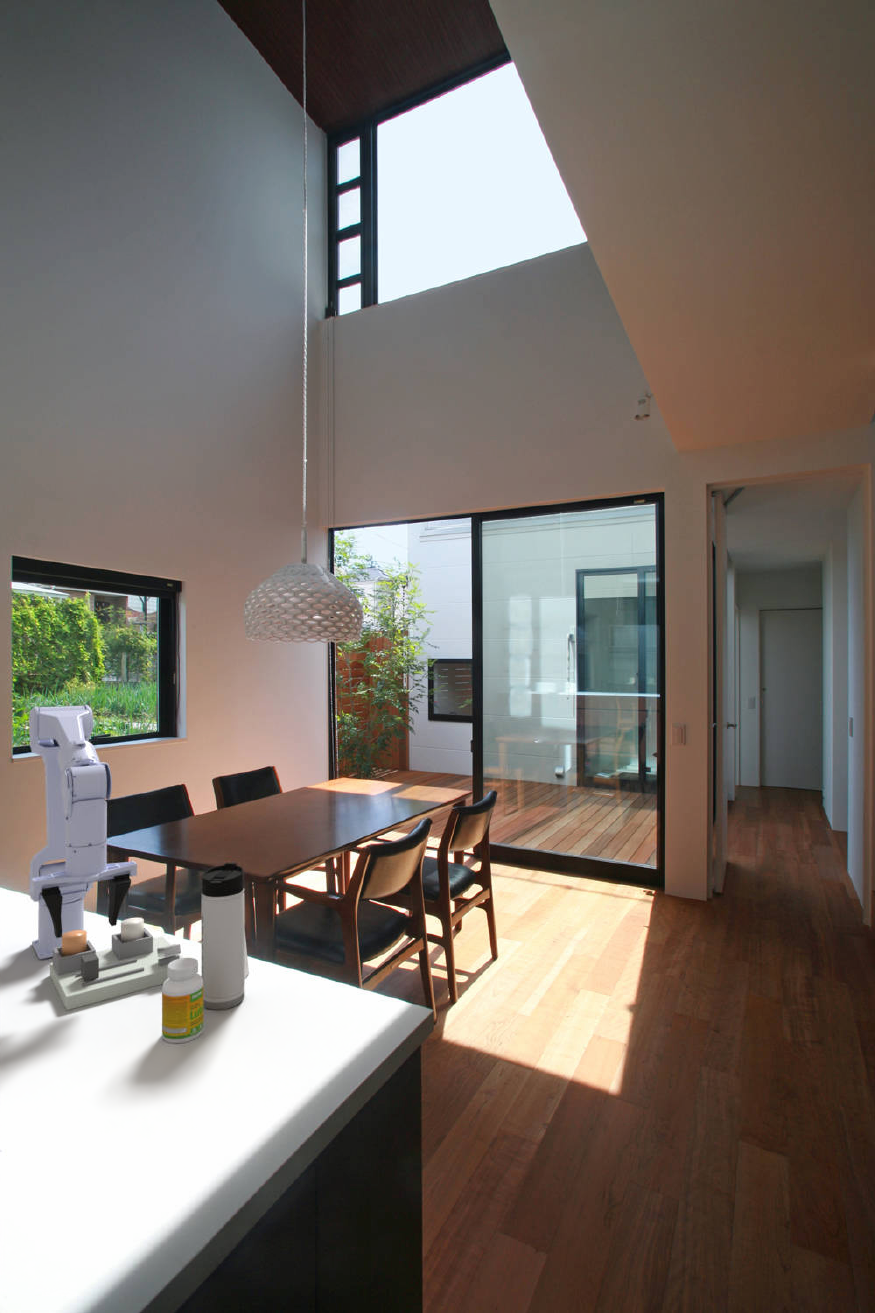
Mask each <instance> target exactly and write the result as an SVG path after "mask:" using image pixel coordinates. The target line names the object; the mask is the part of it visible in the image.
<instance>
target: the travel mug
mask: <svg viewBox="0 0 875 1313" xmlns="http://www.w3.org/2000/svg"><path fill="white" fill-rule="evenodd" d="M244 883H245V870H244V868H243V867H242V866H241V865H239V864H237V862H226V863H224V864H222V865H218V866H217V865H216V866H213V867H211V868H208V869H207V870H205V871H204V872H202V875H201V906H200V907H201V914H200V915H201V919H200V920H201V977H202V978H203V1008H205V1009H208V1010H212V1011H221V1010H222V1011H223V1010H228V1009H231V1008H233V1007H236V1006H238V1005H239V1004H241V1002H243V1000H244V999H245V979H244V931H245V884H244ZM227 1008H228V1009H227Z"/></svg>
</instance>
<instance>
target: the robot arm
mask: <svg viewBox="0 0 875 1313" xmlns="http://www.w3.org/2000/svg"><path fill="white" fill-rule="evenodd" d="M28 716H29V718H28V720H29V721H28V728H29V729H28V731H29V747H30V750H31V753H33V754H35V755H39V756H41V759H42V762H43V765H44V776H45V778H44V781H45V782H44V783H45V816H46V819H45V820H46V845H45V846H44V847H43V848H42V849H40V850H39V851H37V853H35V854H34V855H33V856H32V857H31V860H30V862H29V874H28V887H29V888H28V889H29V890H28V892H29V896H30V899H31V900H32V901H33V902H34V903H36V902H37V903H38V910H37V912H38V913H37V914H38V915H37V916H38V917H37V919H38V921H37V922H38V923H37V925H38V927H37V928H38V930H37V931H38V932H37V934H38V937H37V938H38V939H34V940H32V941H31V944H32V946H33V948H34V951H35V953H36V955H37V958H38V959H39V960H45V959H48V958H53V948H57V947H61V946H62V935H63V934H65V933H67V932H70V931H74V930H85V929H84V928H85V927H84V926H85V924H84V922H85V918H84V917H85V916H84V911H85V910H84V908H85V907H84V905H85V904H84V900H85V898H86V897H87V893H89V892H91V889H93V886H94V883H95V882H100V881H106V880H107V884H108V885H107V886H108V898H109V900H108V901H109V903H108V923H109V925H110V926H111V927H115V926H117V922H118V917H119V914H120V913H119V912H120V910H121V907H122V904H123V902H124V900H125V897H126V895H127V893H128V891H129V889H130V888H131V885H132V879H131V878H130V877H135V876H136V877H137V876H138V863H136V861H135V860H131V861H124V862H116V863H115V862H112V863H107V861H108V860H107V849H108V848H107V847H108V846H107V844H108V842H107V838H108V837H107V834H108V833H107V832H108V831H107V830H108V829H107V828H108V827H107V825H108V823H107V822H108V820H107V818H108V811H107V810H108V809H107V808H108V802H107V801H110V799H111V795H112V789H113V780H112V771H111V768H110V765H109V763H108V762H104V761H103V762H102V761H100V758H99V755H98V753H97V751H96V747H95V746H94V745H93V743H91V742H90V738H91V735H92V733H93V729H94V715H93V710H92V708H91V707H90V706H89V705H88V704H84V705H70V706H69V705H67V706H65V705H64V706H62V705H61V706H60V705H59V706H33V707H32V709H30V711H29V715H28ZM106 800H107V801H106ZM59 860H65V861H60V862H53V863H48V864H45V863H47V862H51V861H59Z"/></svg>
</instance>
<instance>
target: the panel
mask: <svg viewBox="0 0 875 1313" xmlns="http://www.w3.org/2000/svg"><path fill="white" fill-rule="evenodd" d="M169 945H171V944H170V942H168V941H167V940H166V938H164V936H159V937H154V936H153V935H152V934H151V933H150V932H149V931H148V930H147V929H146V927H144V938H141V939H137V940H133V941H129V942H125V943H123V942H121V932H119V933H115V934H112V935H111V948H107V949H103V950H100V951H96V948H95V947H94V946H93V944H92V942H91V941H90V940H87V941H86V952H82V953H78V954H74V955H69V956H65V957H64V956H62V946H61V947H57V948H53V957H52V962H50V963H49V976H50V978H51V980H52V983H53V985H54V987H55V989H56V991H57V993H58V996H59V998H60V1000H61V1002H62V1004H63V1006H64V1008H65V1010H66V1011H70V1010H73V1009H77V1008H81V1007H84V1006H87V1005H88V1006H89V1005H91V1004H95V1003H98V1002H101V1001H106V1000H109V999H113V998H116V997H120V996H124V995H127V994H132V993H133V992H138V991H141V990H145V989H149V988H151V987H156V986H159V985H163V984H164V982H165V981H166V980H167V979H168V975H167V968H168V964H169V963H170V962H172V961H174V960H177V959H181V958H184V957H183V956H182V955H181V953H180V954H176V955H172V956H168V957H158V953H157V948H161V947H165V946H169ZM93 953H95V954H96V955H97V957H98V958H99V978H97V979H93V980H89V981H84V980H83V978H82V976H81V956H84V955H88V954H93Z"/></svg>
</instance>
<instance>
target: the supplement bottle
mask: <svg viewBox="0 0 875 1313" xmlns="http://www.w3.org/2000/svg"><path fill="white" fill-rule="evenodd" d="M198 972H199V961H198V959H197V958H193V957H183V958H181V959H177V960H174V961H172V962H170V963H169V964H168V968H167V975H168V979H167V980H166V981H165V982H164V983H163V984H162V987H161V995H162V996H161V1006H162V1007H161V1036H162V1039H163V1040H164V1041H165V1042H167V1043H169V1044H181V1043H187V1042H190V1041H193V1040H195V1039H196V1038H198V1037H199V1036H200V1035H201V1034H202V1033H203V1031H204V1006H203V978H202V975H200V974H199V973H198Z"/></svg>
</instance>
